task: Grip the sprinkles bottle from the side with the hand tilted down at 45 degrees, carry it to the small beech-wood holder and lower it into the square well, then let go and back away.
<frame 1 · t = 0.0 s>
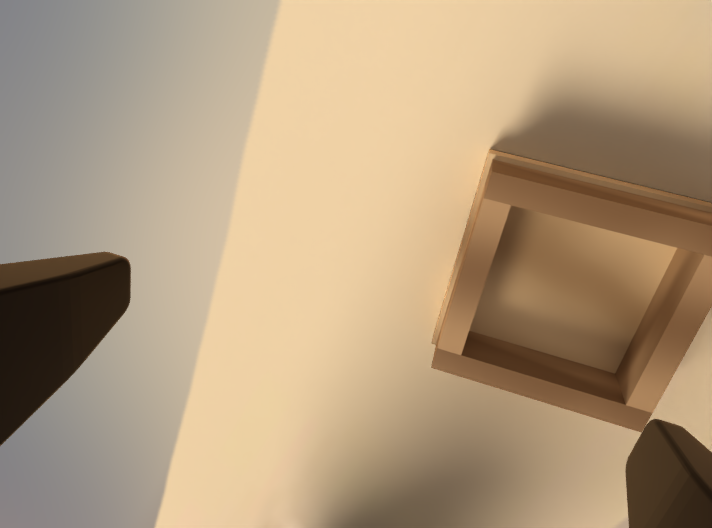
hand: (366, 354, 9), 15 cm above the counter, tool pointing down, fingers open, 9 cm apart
holder: (562, 277, 23), on the counter
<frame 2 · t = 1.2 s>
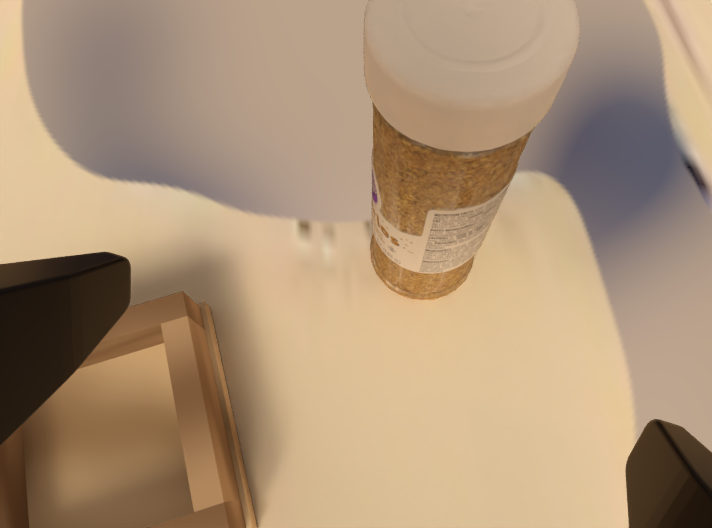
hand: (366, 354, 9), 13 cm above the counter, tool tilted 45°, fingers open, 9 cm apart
sprinkles bottle: (421, 256, 24), on the counter
holder: (121, 445, 21), on the counter
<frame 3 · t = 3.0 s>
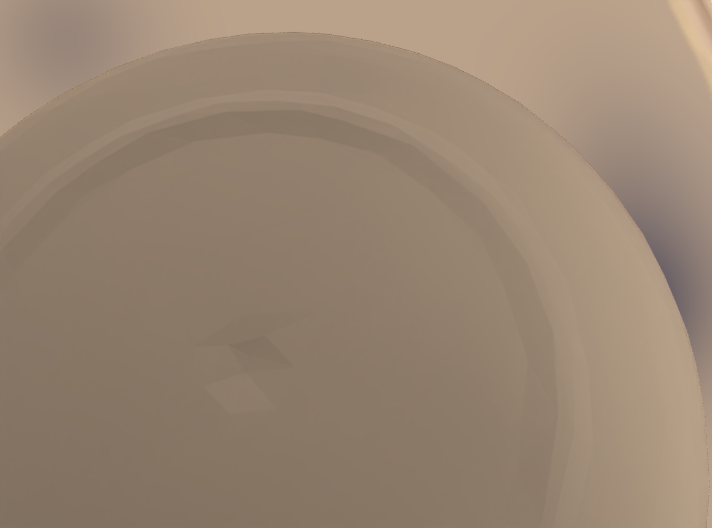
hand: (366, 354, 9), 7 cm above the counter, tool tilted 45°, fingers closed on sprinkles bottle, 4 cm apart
sprinkles bottle: (356, 450, 15), on the counter, touching gripper
when the fingers open (8 cm above the counter, at t = 8.4 s): sprinkles bottle stays where it is, resting on holder.
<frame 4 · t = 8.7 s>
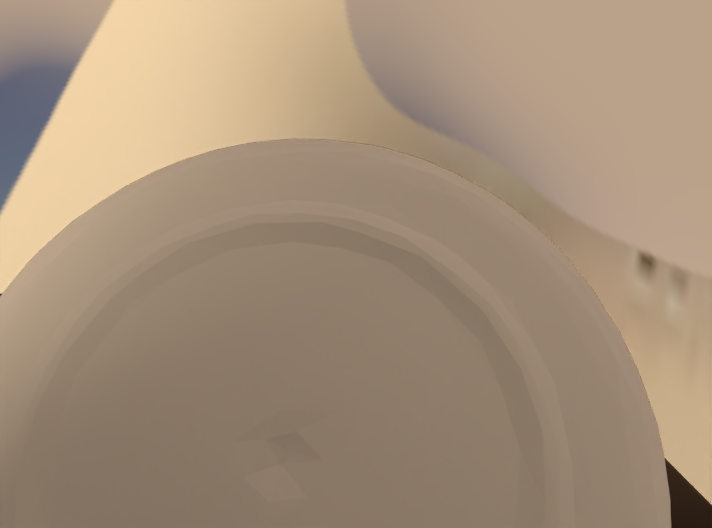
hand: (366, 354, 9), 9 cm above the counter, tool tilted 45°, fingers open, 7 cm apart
sprinkles bottle: (355, 458, 16), point 1 cm above the counter, touching holder
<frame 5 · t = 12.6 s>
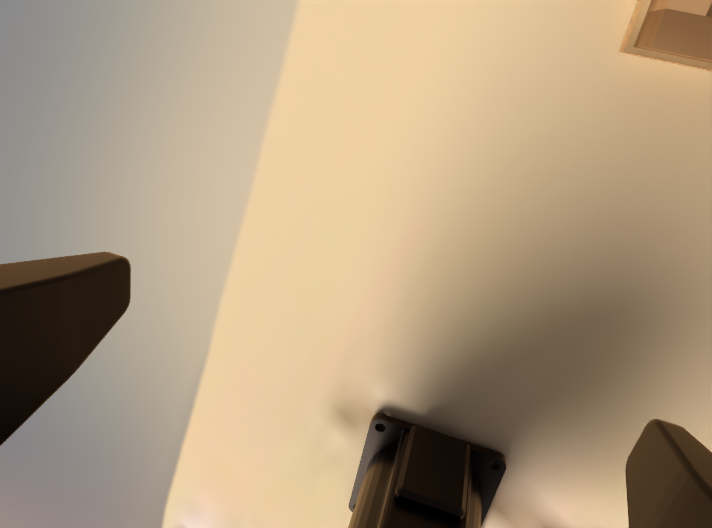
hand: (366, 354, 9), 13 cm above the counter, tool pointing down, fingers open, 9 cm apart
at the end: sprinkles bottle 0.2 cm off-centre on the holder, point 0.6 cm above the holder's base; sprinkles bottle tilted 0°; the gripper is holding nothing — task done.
